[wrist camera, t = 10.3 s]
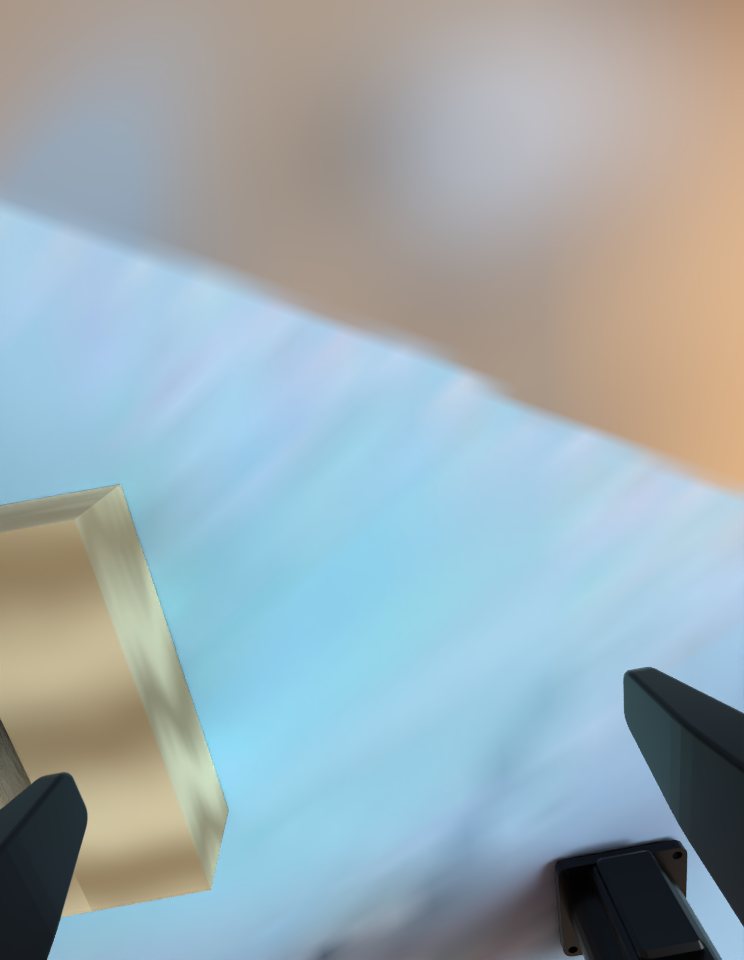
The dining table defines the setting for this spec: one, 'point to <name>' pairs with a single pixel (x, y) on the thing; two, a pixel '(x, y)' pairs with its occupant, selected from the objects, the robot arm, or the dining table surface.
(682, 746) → the robot arm
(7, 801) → the tall grey box
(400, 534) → the dining table surface
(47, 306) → the dining table surface
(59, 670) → the well block
